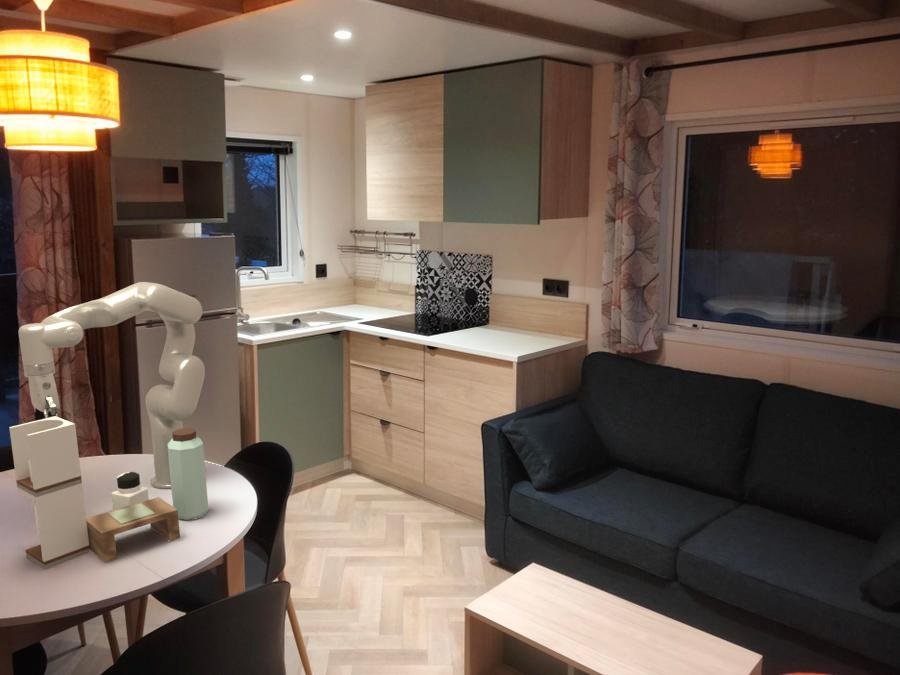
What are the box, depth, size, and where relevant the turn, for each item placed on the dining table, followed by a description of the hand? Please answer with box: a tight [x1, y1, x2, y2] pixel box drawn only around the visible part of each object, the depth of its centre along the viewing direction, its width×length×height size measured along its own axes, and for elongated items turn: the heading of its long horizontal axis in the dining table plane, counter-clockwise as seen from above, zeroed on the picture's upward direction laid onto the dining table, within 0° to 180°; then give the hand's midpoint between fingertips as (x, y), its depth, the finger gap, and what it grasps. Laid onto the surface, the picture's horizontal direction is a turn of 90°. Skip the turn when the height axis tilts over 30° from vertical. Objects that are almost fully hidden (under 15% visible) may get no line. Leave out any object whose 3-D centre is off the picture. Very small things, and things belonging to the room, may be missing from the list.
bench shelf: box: [86, 496, 181, 563], centre depth 212 cm, size 20×12×8 cm, turn 133°
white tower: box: [8, 416, 91, 570], centre depth 203 cm, size 11×11×35 cm
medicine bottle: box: [110, 471, 150, 511], centre depth 230 cm, size 7×7×12 cm
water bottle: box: [167, 427, 209, 521], centre depth 227 cm, size 10×10×25 cm
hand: (47, 428), depth 221 cm, fingers open, 9 cm apart
